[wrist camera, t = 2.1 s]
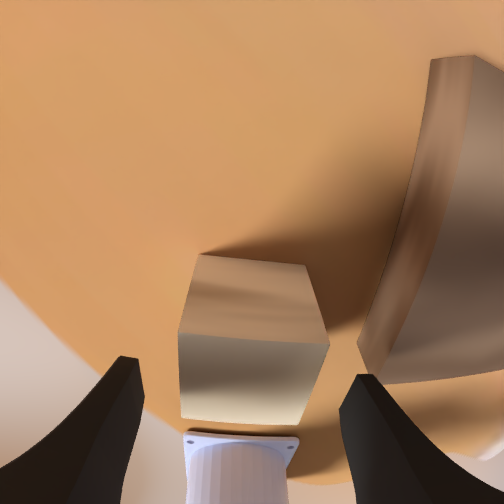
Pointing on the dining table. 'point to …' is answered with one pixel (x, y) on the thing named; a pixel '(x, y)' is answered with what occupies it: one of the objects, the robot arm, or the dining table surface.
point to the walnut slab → (447, 239)
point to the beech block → (249, 342)
